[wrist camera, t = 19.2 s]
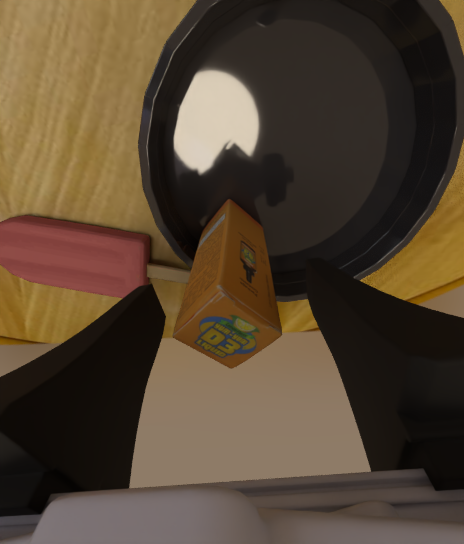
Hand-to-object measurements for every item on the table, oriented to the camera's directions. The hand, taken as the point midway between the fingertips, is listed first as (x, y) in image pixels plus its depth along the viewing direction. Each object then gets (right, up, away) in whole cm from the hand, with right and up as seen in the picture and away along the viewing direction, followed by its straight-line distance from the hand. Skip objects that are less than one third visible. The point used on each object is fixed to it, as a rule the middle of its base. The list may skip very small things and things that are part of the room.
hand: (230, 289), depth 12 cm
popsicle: (-10, +2, +8) cm, 13 cm away
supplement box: (0, +4, +6) cm, 7 cm away
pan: (+3, +7, +4) cm, 9 cm away
